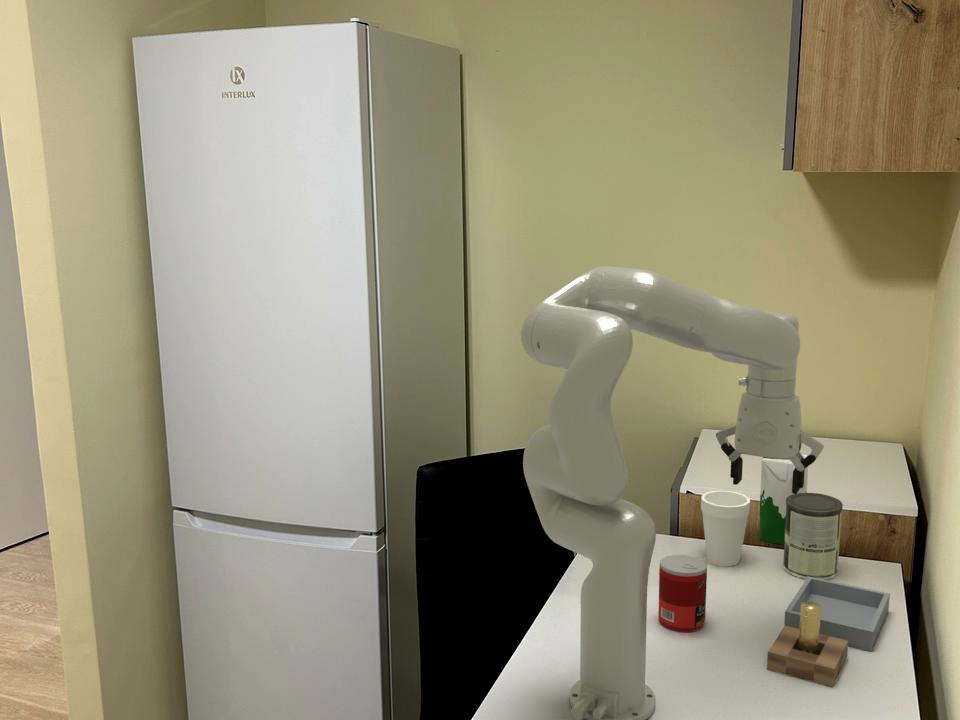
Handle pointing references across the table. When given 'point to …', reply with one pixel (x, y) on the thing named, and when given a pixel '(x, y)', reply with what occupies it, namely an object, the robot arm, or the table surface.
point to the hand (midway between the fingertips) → (766, 486)
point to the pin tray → (843, 611)
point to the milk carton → (776, 497)
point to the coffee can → (812, 535)
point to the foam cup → (724, 525)
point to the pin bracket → (807, 657)
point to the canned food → (682, 592)
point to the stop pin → (809, 627)
